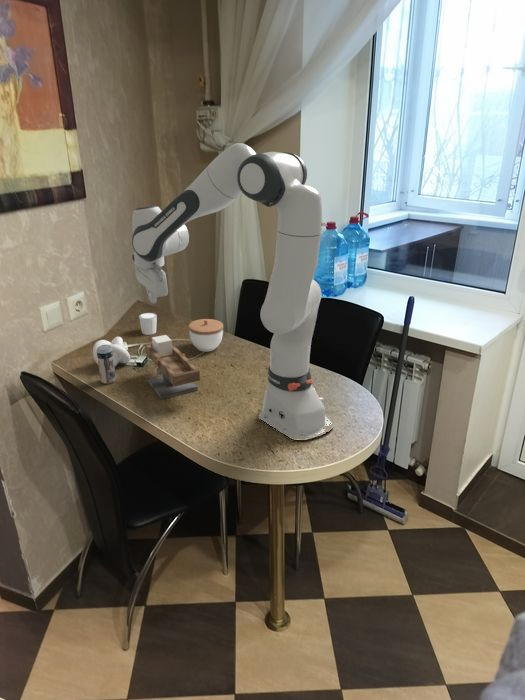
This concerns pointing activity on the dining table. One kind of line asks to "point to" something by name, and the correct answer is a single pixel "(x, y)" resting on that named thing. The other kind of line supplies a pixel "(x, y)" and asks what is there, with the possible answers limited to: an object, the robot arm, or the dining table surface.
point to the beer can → (106, 364)
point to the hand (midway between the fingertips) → (152, 301)
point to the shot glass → (148, 323)
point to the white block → (162, 345)
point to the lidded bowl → (206, 334)
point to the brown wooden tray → (172, 373)
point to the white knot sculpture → (113, 350)
